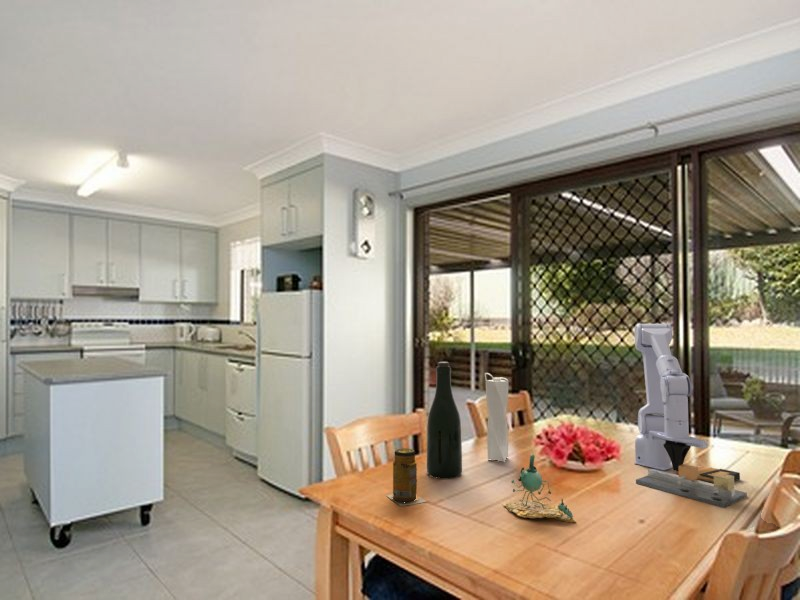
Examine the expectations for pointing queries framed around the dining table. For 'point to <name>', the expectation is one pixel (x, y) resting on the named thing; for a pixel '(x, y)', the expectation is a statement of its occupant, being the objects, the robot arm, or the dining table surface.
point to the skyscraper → (497, 418)
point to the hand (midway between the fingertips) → (677, 470)
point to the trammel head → (687, 473)
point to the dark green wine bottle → (444, 429)
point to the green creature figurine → (533, 508)
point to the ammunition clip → (708, 474)
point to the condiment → (405, 478)
